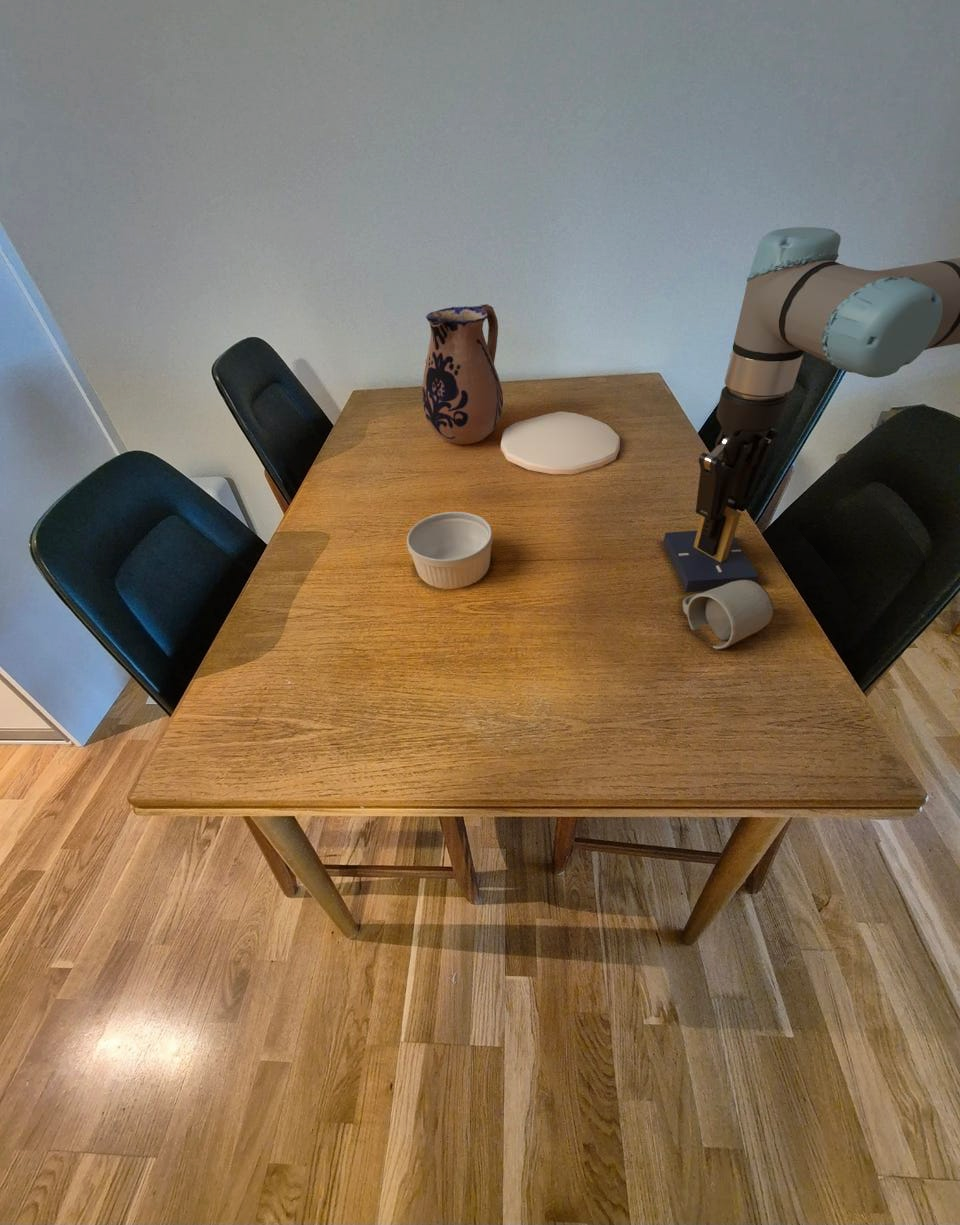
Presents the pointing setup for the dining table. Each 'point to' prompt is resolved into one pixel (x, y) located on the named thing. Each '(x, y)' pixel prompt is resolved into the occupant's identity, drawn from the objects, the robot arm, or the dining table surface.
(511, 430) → the decorative plate
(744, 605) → the ceramic mug
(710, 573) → the panel
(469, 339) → the ceramic pitcher
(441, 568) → the ramekin
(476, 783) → the dining table surface
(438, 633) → the dining table surface
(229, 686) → the dining table surface
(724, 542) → the knob
